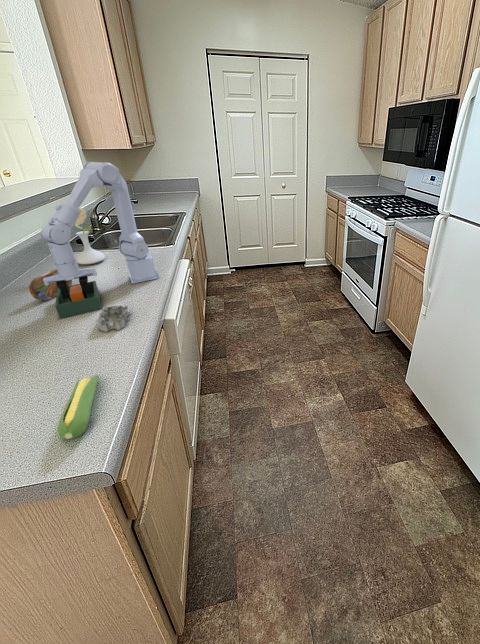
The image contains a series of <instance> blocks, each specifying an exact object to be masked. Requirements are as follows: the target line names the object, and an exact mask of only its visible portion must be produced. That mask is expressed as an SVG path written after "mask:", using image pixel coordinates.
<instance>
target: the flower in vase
mask: <svg viewBox="0 0 480 644" xmlns="http://www.w3.org/2000/svg"><path fill="white" fill-rule="evenodd" d="M79 210H80V215H79V217H78V218H77V220H76V222H75V223H74V225H73V226H74V227H76V228H78V229H80V230H81V231H78V232H76V233H75V235H76V236H78V237H79V239H80V240H81V242H82V245H83V250H82V252H81V253H80V254H79V255H78V256H77V258H76V262H77V264H79V265H92V264H93V265H94V264H97V263H100V262H102V261H104V260H105V258H106V255H105V254H104V253H103V252H100V251H98V250H97V249H94V248H93V247H91V245H90V241H89V234H90V231H92V230H93V228H92V227H91V226H90V224H86V223H85V221H86V219H87V216H88V215H87V212H86V210H85V209H84V208H81V207H79ZM80 225H83V227H82V226H80Z"/></svg>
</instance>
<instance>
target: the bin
mask: <svg viewBox="0 0 480 644" xmlns="http://www.w3.org/2000/svg"><path fill="white" fill-rule="evenodd" d="M77 285H80V283H77V284H71V286H68V287H69V290H70V287H72V286H77ZM86 293H87V298H86V299H82V300H77V301H73V302H71V301H70V299H69V298H68V296H67V295H66V294H65V293H64V292H63V291H62V290H60V289H59V288H58V289H57V296H56V297H55V305H54V307H55V309H56V312H57V315H58V317H59V320H60V319H64V318H69V317H73V316H78V315H82V314H85V313H90V312H94V311H99V310H101V309H102V303H101V296H100V295H101V294H100V291H99V286H98V284H97V281H96V280H92V281H88V282H87V288H86Z"/></svg>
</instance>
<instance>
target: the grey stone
mask: <svg viewBox="0 0 480 644" xmlns="http://www.w3.org/2000/svg"><path fill="white" fill-rule="evenodd" d="M101 309H102V310H101V311H100V313H99V315H98V317H97V318H96V319H95V323H96V325H97V326H98V327H99V330H100V331H103V332H105V333H107V332H109V331H111V330H113V329H115V330H117V331H119V330H121V329H123V328H125V327H126V322H128V317H129V316H130V315H129V312H128V310H129V308H128V305H124V306H123V305H114V306H113V305H110V306H106V305H105V306H104V305H103V307H102V308H101Z"/></svg>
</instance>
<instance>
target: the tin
mask: <svg viewBox="0 0 480 644" xmlns="http://www.w3.org/2000/svg"><path fill="white" fill-rule="evenodd" d="M57 274H59V273H58V270H57V268H56V269H52V270H50V271H47V272H46V273H43V274H41V275H39V276H37V277H35V278H33V279H32V280H31V281H30V283H29V287H28V290H29V292H30V295H31V296H32V297H33V298H34V299H36V300H39V301H51V300H52V299H54V298H56V297H57V289H58V287H57V284H56V283H52V284H49V285H45V283H44V281H43V279H44V278H46V277H50V276H54V275H57ZM67 284H68V286H71V285H73V280H67Z"/></svg>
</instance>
